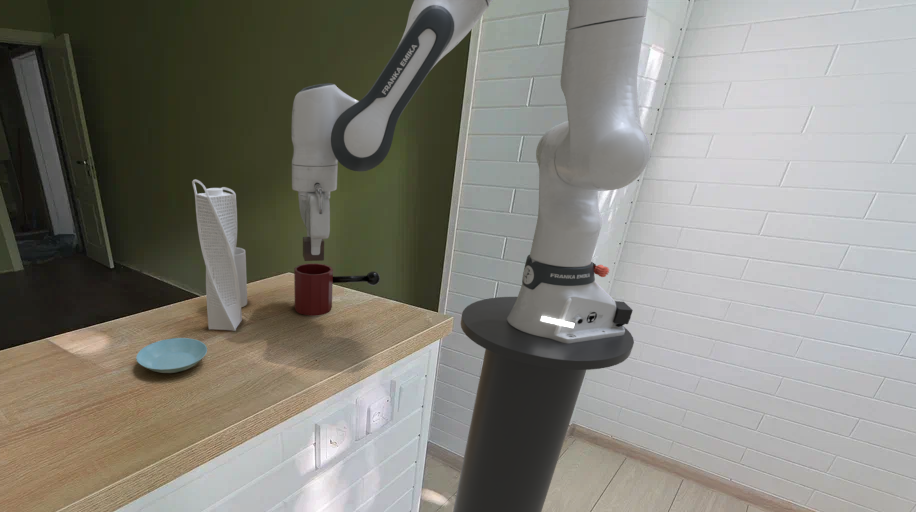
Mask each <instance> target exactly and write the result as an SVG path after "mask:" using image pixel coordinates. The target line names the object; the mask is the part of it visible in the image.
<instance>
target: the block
mask: <svg viewBox="0 0 916 512" xmlns="http://www.w3.org/2000/svg"><path fill="white" fill-rule="evenodd" d="M302 257H303V260H304V262H314V261H315V262H317V261H318V262H319V261H321V262H322V261H325V239H322V241H321V245H320V254H319V255H312V254H311V238H310V237H307V236H302Z"/></svg>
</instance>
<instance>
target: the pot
mask: <svg viewBox="0 0 916 512" xmlns="http://www.w3.org/2000/svg"><path fill="white" fill-rule="evenodd" d="M293 272H294V273H293V274H294V275H293V276H294V277H293V279H294V280H293V281H294V283H293V284H294V288H293V289H294V310H295V312H297V313H298V314H301V315H303V316H309V317H310V316H311V317H312V316H314V317H315V316H323V315H326V314H328V313H330V312H331V311H332V308H333V285H334V284H345V283H346V284H348V283H367V284H368V285H369V286H376V285H378V284H379V283H380V281H381V276H380V274H379V272H377V271H373V270H372V271H370V272H368V273H367V274H365V275H336V276H335V275H334V269H333V267H332V266H330V265H328V264H323V263H304V264H303V263H302V264H299V265H296V266H295V267H294V268H293Z"/></svg>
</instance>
